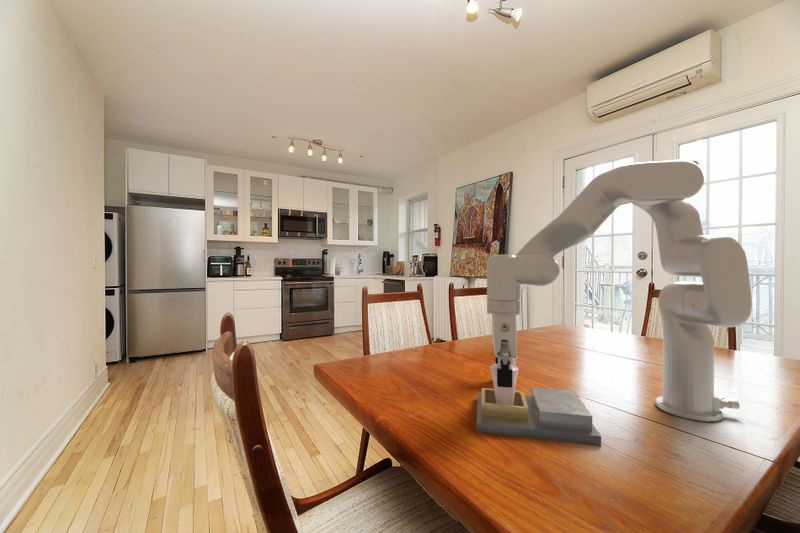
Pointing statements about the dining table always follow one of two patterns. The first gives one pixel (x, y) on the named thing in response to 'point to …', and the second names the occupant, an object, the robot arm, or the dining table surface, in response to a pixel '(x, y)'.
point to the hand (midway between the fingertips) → (503, 379)
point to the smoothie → (504, 393)
